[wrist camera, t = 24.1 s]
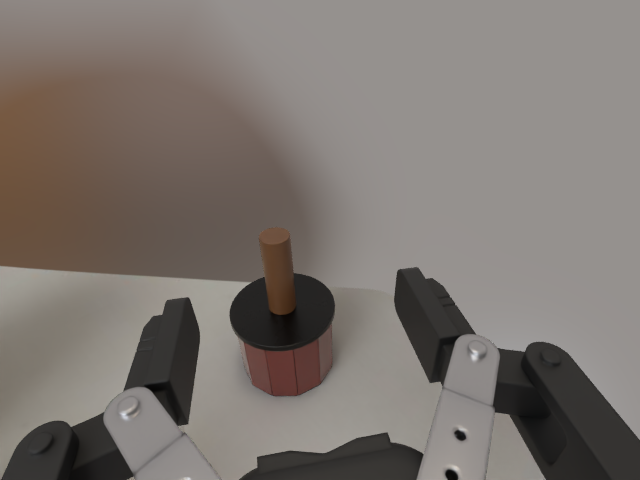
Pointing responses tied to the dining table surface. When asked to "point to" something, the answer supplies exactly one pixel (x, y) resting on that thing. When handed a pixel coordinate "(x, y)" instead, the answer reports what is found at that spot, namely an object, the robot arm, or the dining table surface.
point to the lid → (281, 301)
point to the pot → (289, 366)
